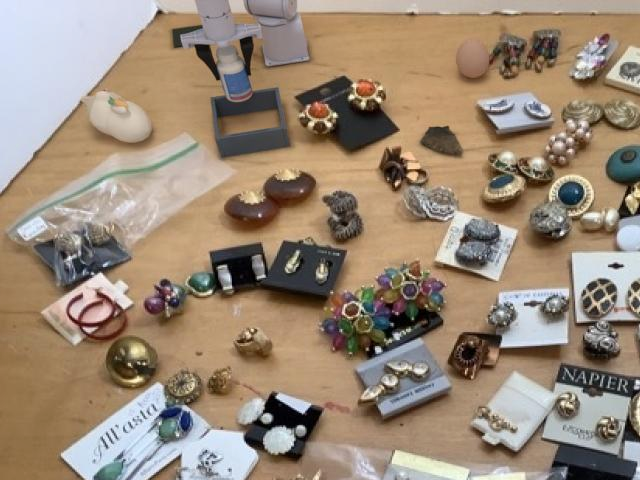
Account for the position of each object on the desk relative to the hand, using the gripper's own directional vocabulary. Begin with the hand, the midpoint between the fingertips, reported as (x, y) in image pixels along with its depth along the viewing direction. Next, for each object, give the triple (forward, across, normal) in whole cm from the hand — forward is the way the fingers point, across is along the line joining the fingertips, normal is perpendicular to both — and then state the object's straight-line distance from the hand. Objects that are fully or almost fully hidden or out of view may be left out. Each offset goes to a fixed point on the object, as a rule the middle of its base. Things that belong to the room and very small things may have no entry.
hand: (233, 75), depth 158 cm
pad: (+10, -9, +33) cm, 36 cm away
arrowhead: (+10, +38, -18) cm, 43 cm away
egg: (+11, +49, +3) cm, 50 cm away
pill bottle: (+5, 0, 0) cm, 5 cm away
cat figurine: (+10, -24, +2) cm, 26 cm away
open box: (+10, +1, -4) cm, 11 cm away
